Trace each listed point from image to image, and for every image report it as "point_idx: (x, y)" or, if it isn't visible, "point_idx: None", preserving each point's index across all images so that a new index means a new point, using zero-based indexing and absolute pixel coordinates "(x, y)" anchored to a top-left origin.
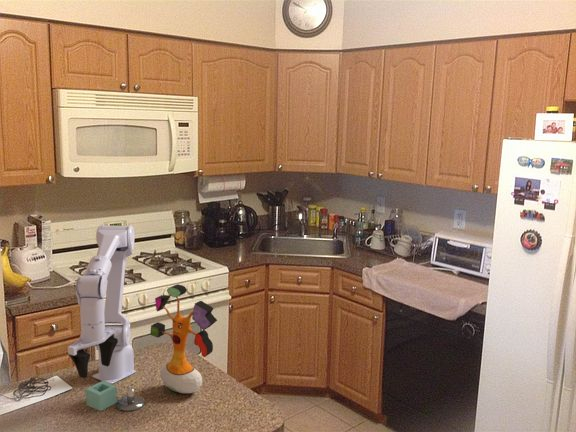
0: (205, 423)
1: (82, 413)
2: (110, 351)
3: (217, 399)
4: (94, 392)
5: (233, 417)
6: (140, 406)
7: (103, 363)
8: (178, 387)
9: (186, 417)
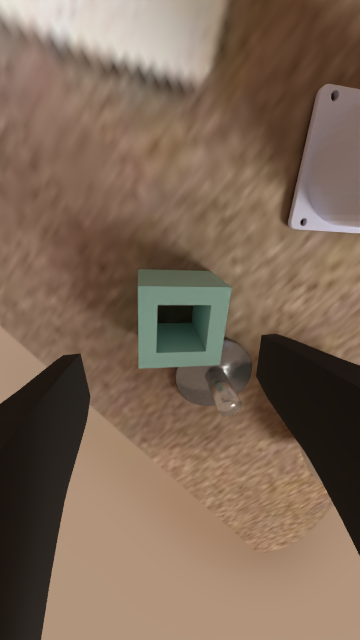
0: (224, 507)
1: (93, 302)
2: (329, 489)
3: (308, 472)
4: (139, 339)
5: (261, 517)
6: (211, 404)
7: (266, 352)
8: (303, 451)
9: (226, 479)
